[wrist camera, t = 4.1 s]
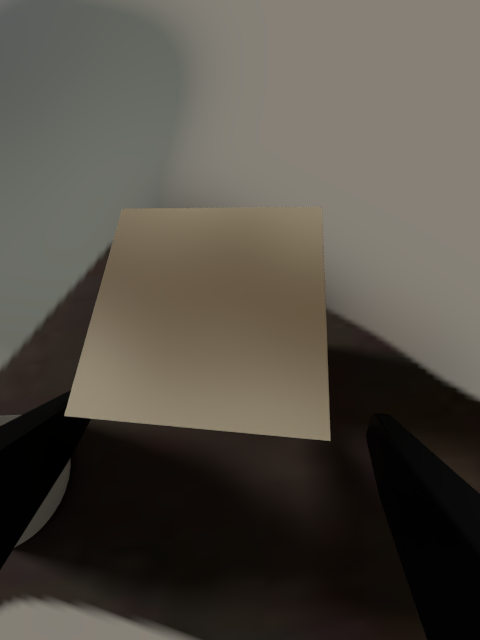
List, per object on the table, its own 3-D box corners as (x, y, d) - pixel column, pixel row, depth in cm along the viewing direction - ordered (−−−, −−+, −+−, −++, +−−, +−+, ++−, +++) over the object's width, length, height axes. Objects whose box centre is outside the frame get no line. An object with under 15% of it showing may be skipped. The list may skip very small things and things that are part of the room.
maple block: (281, 413, 16) (330, 440, 4) (208, 407, 17) (63, 415, 5) (283, 340, 18) (322, 206, 6) (215, 337, 19) (121, 208, 6)
